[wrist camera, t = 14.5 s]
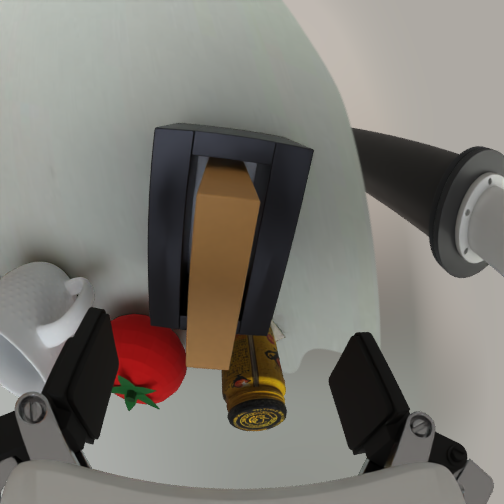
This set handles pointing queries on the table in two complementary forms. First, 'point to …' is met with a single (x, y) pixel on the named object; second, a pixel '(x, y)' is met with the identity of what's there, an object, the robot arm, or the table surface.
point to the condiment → (255, 382)
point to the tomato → (146, 361)
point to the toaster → (183, 209)
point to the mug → (37, 322)
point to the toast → (219, 261)
